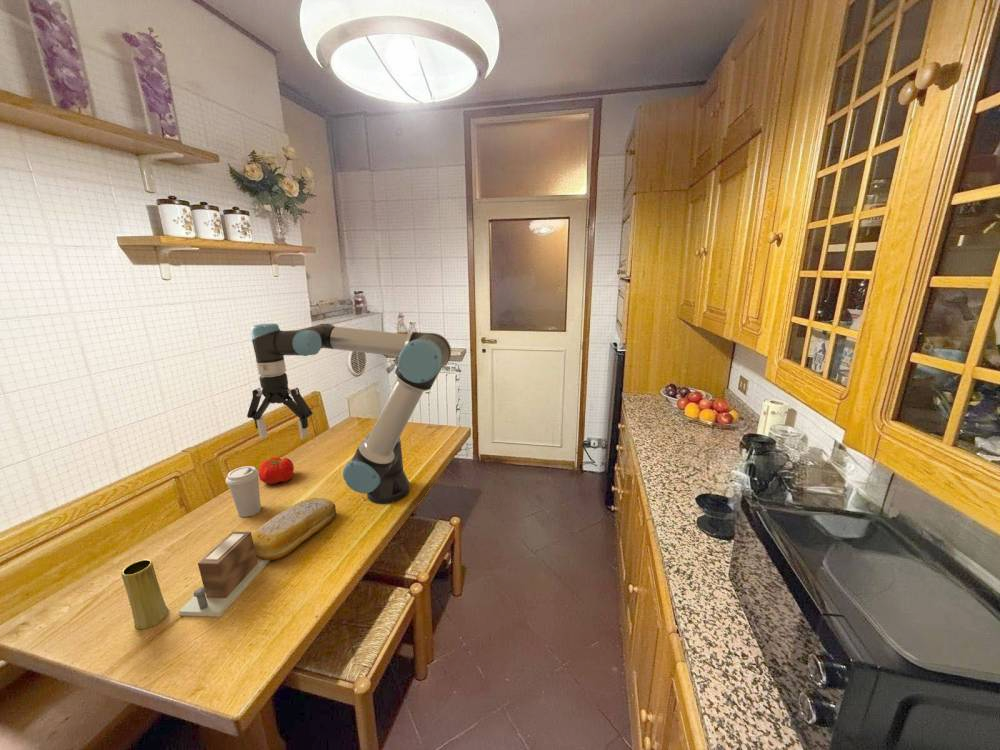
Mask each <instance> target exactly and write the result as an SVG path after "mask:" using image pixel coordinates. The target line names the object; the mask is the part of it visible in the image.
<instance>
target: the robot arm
mask: <svg viewBox="0 0 1000 750" xmlns="http://www.w3.org/2000/svg"><path fill="white" fill-rule="evenodd" d="M250 332H251V343H252V345H253V346H252V347H253V349H254V356H255V362H256V366H257V367H256V368H257V372H258V373H257V374H258V375H259V377H258V379H259V384H260V387H257V388H256V389H253V390H252V399H251V402H250V404H249V408H248V412H247V414H246V417H247V418H248V419H253V420H254V423H255V429H257V431H258V435H259V439H260V440H263V439H266V438H267V437H268V431H267V425H266V421H265V420H266V419H265V417H264V416H263V414H265V412H266V410H267V408H268V407H269V406H270V404H272V405H273V404H283V405H284V406H286V407H287V408H288V409H289V410H290V411H291V412H292V413H293V414H294V415H296V416H297V417H298V419H297V424H298V430H299V435H300V439H301V440H304V439H305V438H307V437H308V427H309V422H308V418H310V417H312V415H313V411H312V410H311V408H310V407H309V405H308V404H307V402H306V401H305V399H304V398H303V396H302V394H301V393H300V389H299V388H298V387H295V388H291V389H290V388H289V380H288V379H289V378H288V374H287V373H286V372H287V368H286V362H285V356H303V357H308V356H315V355H317V354H319V352H320V350H321V349H330V350H339V351H340V350H341V351H349V352H357V353H365V354H373V355H374V354H375V355H383V356H390V357H391V356H392V357H397V367H396V368H395V371H394V375H395V377H396V380H395V383H394V385H393V387H392V389H391V391H390V393H389V395H388V397H387V399H386V400H385V403H384V405H383V407H382V409H381V411H380V413H379V415H378V416H377V417H378V418H377V419H376V421H375V422H374V423H375V424H374V425H373V426H372V428H371V429H372V430H371V432H370V433H368V434H367V435H365V439H364V440H361V441H360V443H359V445H358V446H357V449H356V450H355V453H354V454H353V456H352V458H351V460H350V461H348V462H347V463H346V465H345V466H344V468H343V471H342V478H343V480H344V481H345V484H346V485H347V487H349V489H351V490H353V492H356V493H360V494H366V497H367V499H368V501H370V502H372V503H375V504H390V503H394V502H398V501H400V500H402V499H404V498H405V497H406V496H408V495H409V493H410V490H411V486H410V485H411V484H410V481H409V479H408V476H407V475H406V473H405V470H404V466H403V465H404V462H403V452H402V441H401V435H402V434H403V432H404V431H405V428H406V426H407V424H408V422H409V421H410V418H411V417H412V414H413V412H414V411H415V410H416V409H415V408H416V406H417V404H418V403H419V400H420V399H421V397H422V395H423V393H424V392H426V391H430V390H431V389H432V387H433V385H434V383H435V381H436V379H437V377H438V375H439V374H440V372H441V370H442V369H443V368H444V367H445V366H447V365H448V363H449V361H450V360H451V356H452V349H451V348H452V347H451V344H450V343H449V341H448V340H447V338H445V337H444V336H443V335H442V334H439V333H435V332H421V331H412V332H411V333H410V334H408V333H407V334H406V333H399V332H389V331H380V330H372V329H371V330H370V329H362V328H355V327H354V328H352V327H344V326H343V327H342V326H335V325H333V324H331V323H320V324H317V325H313V326H310V327H309V326H308V327H304V328H301V329H296V330H294V329H293V330H281V328H280V326H279V324H277V323H262V324H261V323H260V324H259V323H258V324H255V325H253V326H251V328H250ZM262 396H263V397H264V399H263V401H262V402H261V399H262ZM260 402H261V404H260ZM259 405H260V406H259Z"/></svg>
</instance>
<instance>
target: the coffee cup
mask: <svg viewBox="0 0 1000 750" xmlns="http://www.w3.org/2000/svg"><path fill="white" fill-rule="evenodd" d="M225 483H226V485H228V488H229V491H230V494H231V496H232V499H233V502H234V504H235V505H234V506H235V508H236V511H237V514H238V516H239V517H240V518H249V517H253V516H254V515H256V514H258V513H259V512H260V511H261V509H262V506H261V495H260V484H259V470H258V469H257V468H256V467H255V466H251V465H246V466H240V467H237V468H235V469H232V470H231V471H229V472H228V474H227V475H226V478H225Z"/></svg>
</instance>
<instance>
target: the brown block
mask: <svg viewBox="0 0 1000 750" xmlns="http://www.w3.org/2000/svg"><path fill="white" fill-rule="evenodd" d="M252 535H253V534H252V532H251V531H232V532H231V533H230V534H228V536H227V537H225V538H224V539H223V540H222V541H221V542H219V544H217V545H216V546H215V547H214V548H213V549H212V550H210V552H209V553H207V554H206V555H205V556H204V557H203V558H202V559H201V560H199V562H198V563H197V566H198V571H199V573H200V577H201V582H202V585H203V586H202V587H205V588H206V593H205V594H206V598H227V597H228V596H229V594H230V593H231V592H232V591H233V590H234V589H235V588H236V587H237V586H238V585H239V583H240V582H241V581H242V580H243V579H244V578H245V577H246V576H247V575H248V574H249V573H250V571H251V570H252V569H253V568H254V567H255V566H256V565H257V564H258V563H257V558H256V553H255V549H254V544H253V539H252Z"/></svg>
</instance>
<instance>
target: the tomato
mask: <svg viewBox="0 0 1000 750" xmlns="http://www.w3.org/2000/svg"><path fill="white" fill-rule="evenodd" d="M294 469H295V466H294V463H293V462H292V460H291V459H290V458H288V457H282V458H280V457H277V456H275V457H270V458H269V459H267V460H264V461H263V462H262V464H260V467H259V470H258V471H259V476H258V479H260V481H261V482H263V483H264V484H270V485H271V484H272V485H274V484H278V483H279V482H287V481H289V480H290V479H292V477H293V476H294Z"/></svg>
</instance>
